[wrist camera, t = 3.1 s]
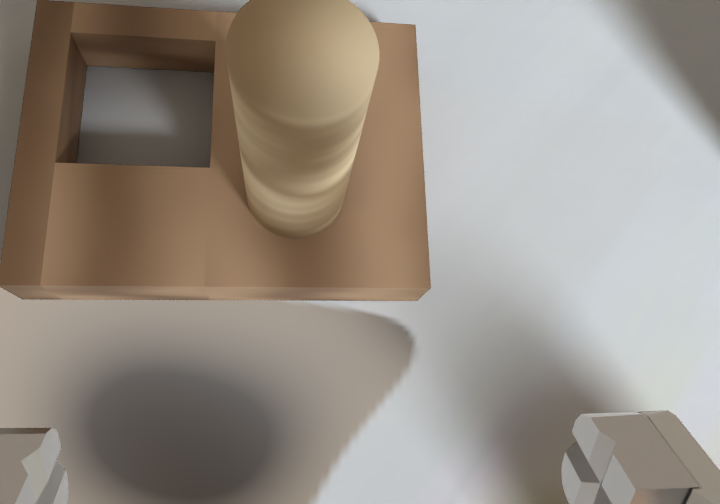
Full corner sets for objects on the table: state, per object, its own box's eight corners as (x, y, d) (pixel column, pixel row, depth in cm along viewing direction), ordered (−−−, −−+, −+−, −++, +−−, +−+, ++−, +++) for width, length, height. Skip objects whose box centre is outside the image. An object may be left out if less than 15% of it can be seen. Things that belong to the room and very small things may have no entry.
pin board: (404, 55, 31) (415, 24, 29) (417, 300, 28) (430, 288, 26) (56, 35, 29) (37, -1, 27) (22, 299, 26) (-3, 285, 23)
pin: (342, 149, 27) (376, -11, 17) (345, 238, 26) (382, 120, 16) (247, 147, 26) (227, -20, 17) (245, 238, 25) (223, 115, 16)
